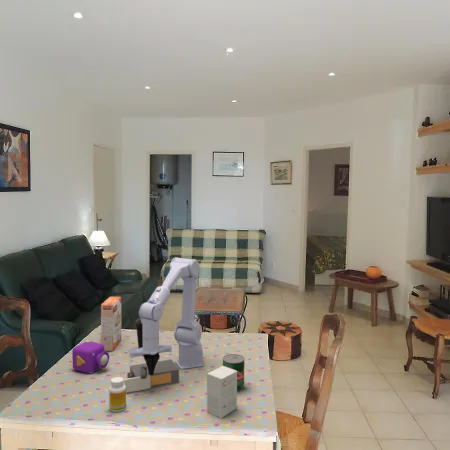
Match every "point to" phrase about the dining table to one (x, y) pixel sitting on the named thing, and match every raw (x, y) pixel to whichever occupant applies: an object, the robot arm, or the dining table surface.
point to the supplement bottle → (117, 395)
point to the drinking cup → (139, 332)
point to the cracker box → (111, 323)
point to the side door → (138, 381)
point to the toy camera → (89, 357)
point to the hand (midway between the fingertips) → (151, 373)
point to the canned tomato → (236, 368)
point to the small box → (221, 391)
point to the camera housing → (158, 373)
